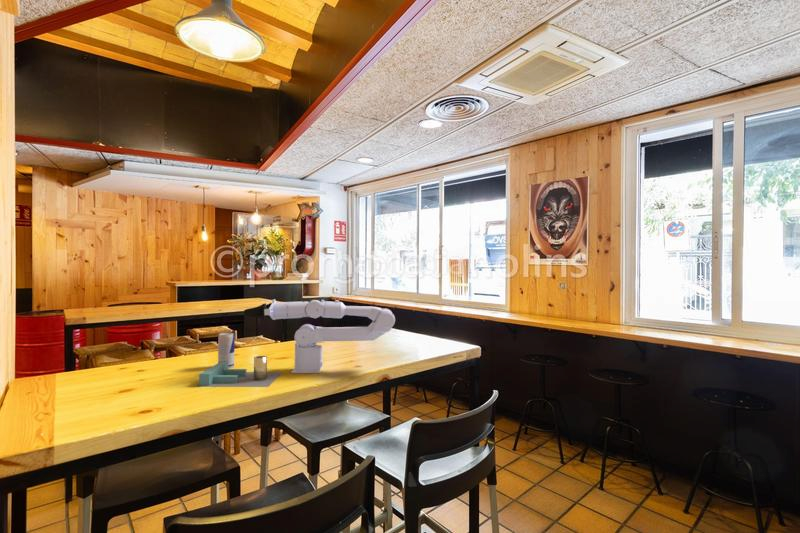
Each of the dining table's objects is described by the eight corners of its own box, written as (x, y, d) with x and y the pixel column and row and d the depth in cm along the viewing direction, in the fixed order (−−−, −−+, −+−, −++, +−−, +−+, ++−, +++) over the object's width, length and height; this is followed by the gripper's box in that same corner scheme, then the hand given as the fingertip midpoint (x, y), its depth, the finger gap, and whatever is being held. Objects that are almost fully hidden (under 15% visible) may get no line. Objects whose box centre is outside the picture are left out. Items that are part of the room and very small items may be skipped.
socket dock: (249, 372, 131) (249, 362, 131) (232, 385, 117) (232, 374, 117) (219, 372, 131) (219, 362, 131) (199, 385, 117) (199, 373, 117)
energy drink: (237, 365, 141) (237, 332, 141) (229, 369, 136) (229, 335, 136) (223, 365, 141) (223, 332, 141) (214, 368, 136) (215, 334, 136)
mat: (282, 372, 132) (282, 372, 132) (268, 387, 116) (268, 386, 116) (217, 372, 132) (217, 372, 132) (194, 387, 116) (194, 386, 116)
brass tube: (268, 377, 126) (268, 355, 126) (264, 380, 122) (264, 358, 122) (256, 377, 126) (256, 355, 126) (251, 380, 122) (252, 358, 122)
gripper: (291, 298, 142) (253, 300, 141) (283, 299, 128) (241, 301, 127) (292, 317, 142) (254, 319, 141) (284, 320, 128) (241, 322, 126)
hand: (248, 312), depth 134 cm, fingers open, 7 cm apart
